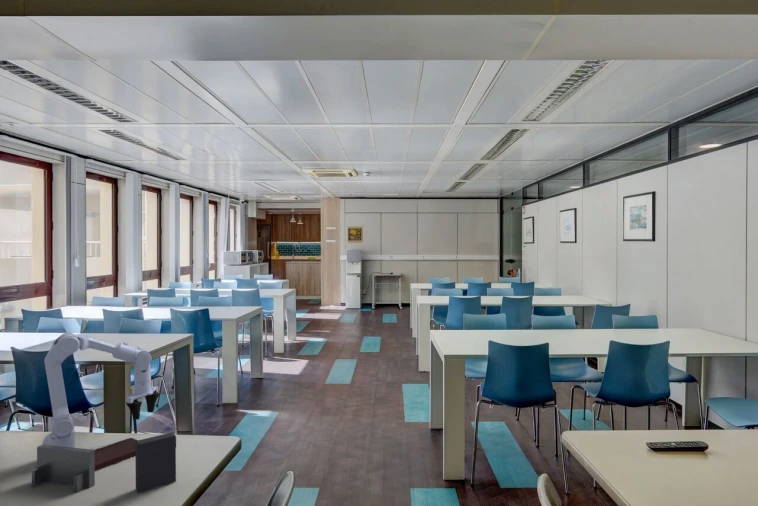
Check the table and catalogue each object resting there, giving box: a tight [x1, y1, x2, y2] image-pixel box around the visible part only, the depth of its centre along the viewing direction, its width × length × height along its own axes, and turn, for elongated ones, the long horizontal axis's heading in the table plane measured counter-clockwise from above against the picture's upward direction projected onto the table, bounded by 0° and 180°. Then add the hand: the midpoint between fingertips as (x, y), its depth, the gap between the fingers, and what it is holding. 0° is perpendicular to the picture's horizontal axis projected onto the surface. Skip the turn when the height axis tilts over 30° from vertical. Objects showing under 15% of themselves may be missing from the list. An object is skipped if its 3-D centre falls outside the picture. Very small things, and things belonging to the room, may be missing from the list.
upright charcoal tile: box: [134, 432, 177, 494], centre depth 142 cm, size 11×4×15 cm, turn 128°
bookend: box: [31, 444, 96, 493], centre depth 142 cm, size 20×5×11 cm, turn 77°
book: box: [94, 437, 139, 472], centre depth 162 cm, size 12×19×3 cm, turn 145°
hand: (143, 415), depth 177 cm, fingers open, 7 cm apart
